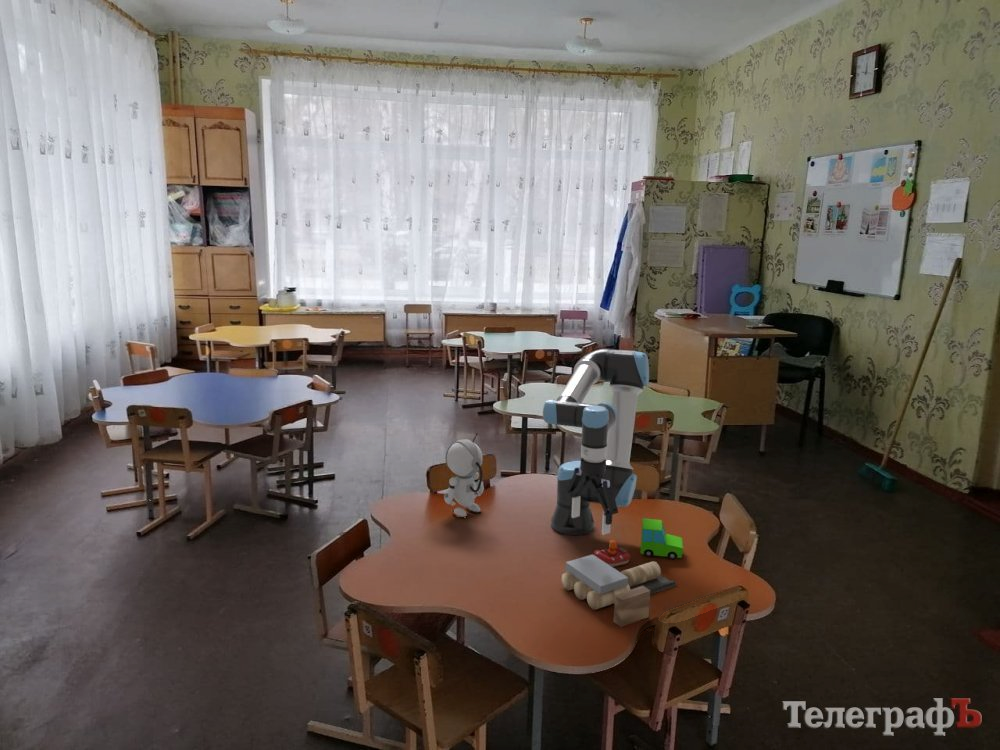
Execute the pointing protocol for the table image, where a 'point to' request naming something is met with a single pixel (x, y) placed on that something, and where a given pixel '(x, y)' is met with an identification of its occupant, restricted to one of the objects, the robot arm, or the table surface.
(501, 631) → the table surface
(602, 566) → the slab
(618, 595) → the track
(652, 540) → the toy car
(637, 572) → the roller
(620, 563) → the toy boat
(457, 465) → the robot
